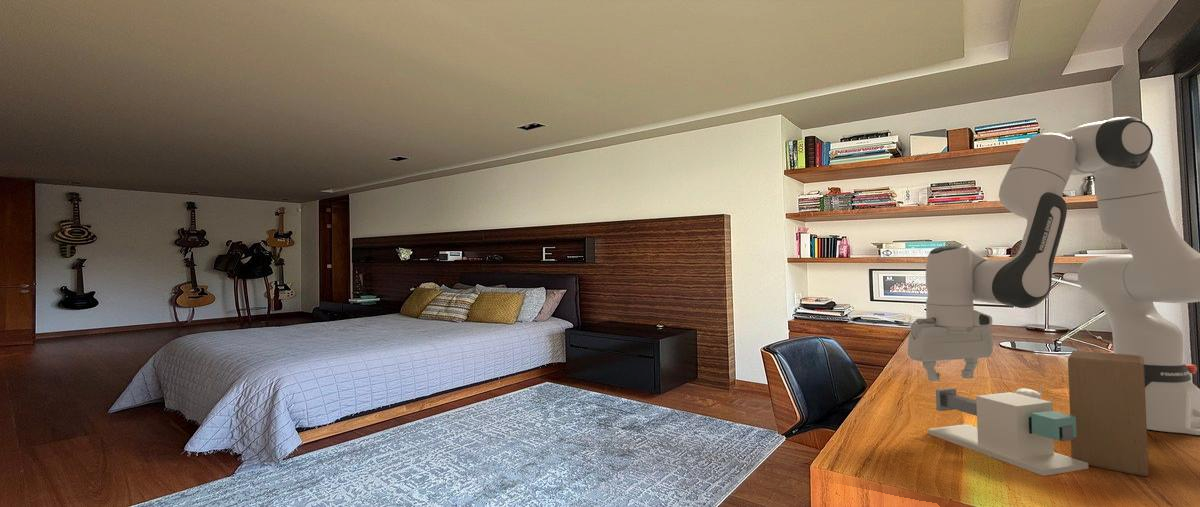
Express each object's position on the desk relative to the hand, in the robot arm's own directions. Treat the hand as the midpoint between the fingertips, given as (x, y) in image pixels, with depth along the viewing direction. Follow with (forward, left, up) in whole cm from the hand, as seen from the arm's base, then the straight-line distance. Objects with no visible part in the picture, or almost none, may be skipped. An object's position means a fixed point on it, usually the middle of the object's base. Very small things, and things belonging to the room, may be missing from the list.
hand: (950, 379), depth 115 cm
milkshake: (-18, +3, -12) cm, 22 cm away
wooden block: (-13, +21, -12) cm, 28 cm away
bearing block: (0, +10, -12) cm, 16 cm away
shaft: (0, +10, -7) cm, 13 cm away
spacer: (0, +21, -4) cm, 21 cm away
